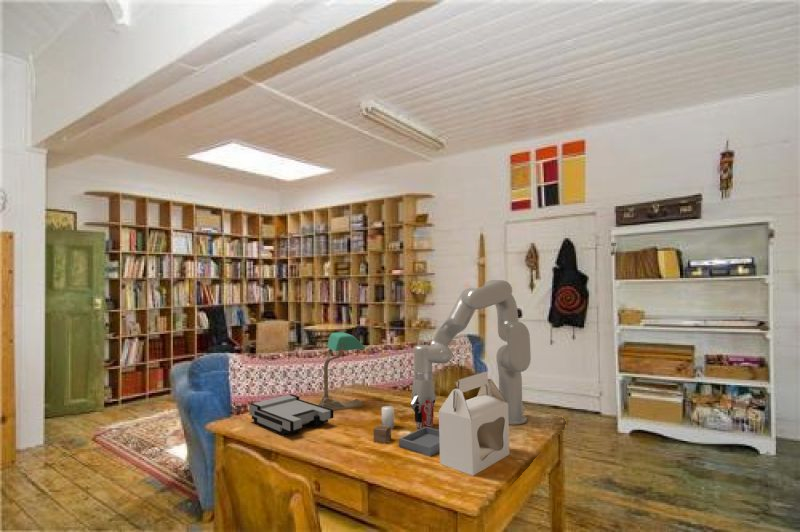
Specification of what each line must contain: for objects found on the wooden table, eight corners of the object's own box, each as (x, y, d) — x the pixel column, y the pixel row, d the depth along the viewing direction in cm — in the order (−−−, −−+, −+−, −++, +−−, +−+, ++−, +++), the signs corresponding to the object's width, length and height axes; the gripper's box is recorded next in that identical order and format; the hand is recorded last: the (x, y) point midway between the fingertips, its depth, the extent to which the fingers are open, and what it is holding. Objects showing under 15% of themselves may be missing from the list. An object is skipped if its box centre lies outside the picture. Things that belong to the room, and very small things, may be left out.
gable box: (477, 444, 158) (475, 367, 158) (510, 454, 148) (507, 372, 149) (439, 464, 142) (436, 378, 143) (472, 476, 132) (470, 384, 133)
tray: (425, 434, 169) (425, 426, 169) (455, 442, 160) (455, 434, 160) (398, 446, 157) (398, 438, 157) (430, 456, 148) (429, 447, 148)
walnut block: (379, 437, 167) (378, 424, 167) (391, 439, 165) (390, 426, 165) (373, 442, 162) (373, 428, 162) (386, 444, 160) (385, 430, 160)
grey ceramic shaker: (387, 424, 181) (387, 405, 182) (396, 427, 178) (396, 407, 178) (379, 427, 178) (379, 408, 178) (388, 430, 174) (388, 410, 175)
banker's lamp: (316, 405, 211) (315, 333, 212) (357, 399, 219) (355, 330, 220) (325, 414, 196) (323, 337, 197) (368, 408, 205) (366, 333, 206)
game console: (290, 440, 166) (290, 419, 166) (249, 423, 188) (249, 404, 188) (333, 426, 181) (333, 406, 181) (291, 411, 203) (290, 394, 203)
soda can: (421, 431, 172) (420, 401, 172) (412, 426, 178) (412, 397, 179) (436, 428, 175) (435, 398, 176) (427, 423, 182) (426, 394, 182)
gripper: (428, 370, 187) (429, 412, 186) (402, 378, 173) (403, 423, 173) (443, 373, 182) (444, 415, 181) (417, 381, 168) (418, 427, 168)
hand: (424, 419), depth 177 cm, fingers closed on soda can, 7 cm apart
